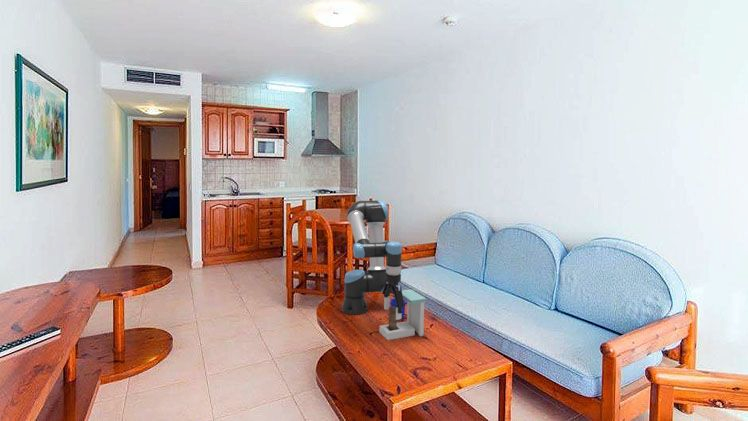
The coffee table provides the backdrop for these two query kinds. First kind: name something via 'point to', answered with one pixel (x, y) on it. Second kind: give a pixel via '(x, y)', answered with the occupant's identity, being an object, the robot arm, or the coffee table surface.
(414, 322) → the station
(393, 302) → the mug
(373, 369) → the coffee table surface
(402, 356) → the coffee table surface
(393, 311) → the peg
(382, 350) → the coffee table surface
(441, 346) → the coffee table surface
